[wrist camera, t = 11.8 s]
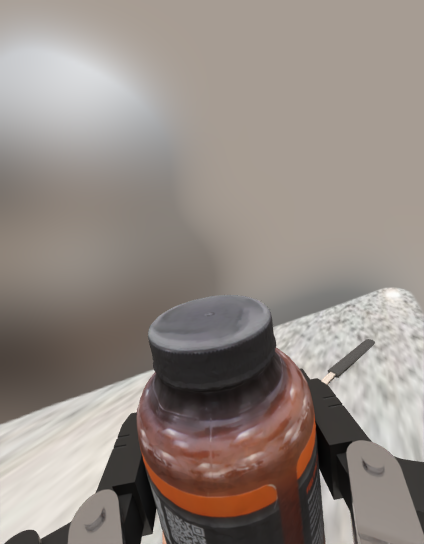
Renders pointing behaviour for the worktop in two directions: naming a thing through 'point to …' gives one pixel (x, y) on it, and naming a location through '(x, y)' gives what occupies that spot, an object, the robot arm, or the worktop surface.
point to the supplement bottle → (229, 429)
